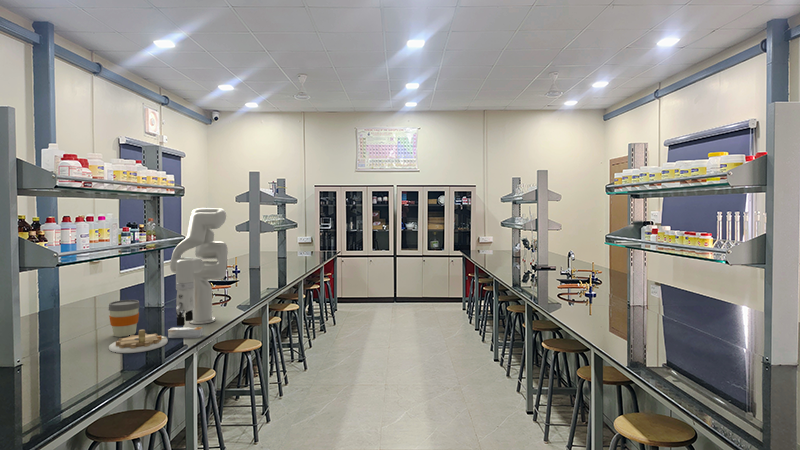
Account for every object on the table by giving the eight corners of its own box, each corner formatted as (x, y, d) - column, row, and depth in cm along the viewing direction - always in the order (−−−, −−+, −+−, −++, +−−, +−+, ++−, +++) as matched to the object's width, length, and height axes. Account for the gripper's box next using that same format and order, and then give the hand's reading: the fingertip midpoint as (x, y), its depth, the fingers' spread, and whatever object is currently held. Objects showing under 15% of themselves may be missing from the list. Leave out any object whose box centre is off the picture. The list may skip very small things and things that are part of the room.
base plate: (125, 338, 206) (125, 334, 206) (175, 337, 207) (175, 334, 207) (97, 353, 184) (97, 350, 184) (153, 352, 186) (153, 349, 186)
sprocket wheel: (112, 341, 197) (112, 326, 196) (156, 334, 208) (156, 320, 207) (119, 351, 183) (119, 335, 183) (165, 343, 195) (165, 328, 194)
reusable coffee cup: (123, 329, 220) (123, 299, 219) (146, 331, 217) (145, 300, 217) (102, 336, 207) (101, 304, 207) (125, 338, 205) (125, 305, 204)
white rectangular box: (171, 336, 210) (171, 327, 210) (202, 335, 211) (202, 327, 211) (168, 338, 206) (168, 329, 206) (199, 338, 207) (199, 329, 207)
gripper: (186, 289, 199) (186, 327, 200) (200, 283, 217) (200, 319, 217) (168, 289, 199) (168, 327, 199) (183, 283, 216) (183, 319, 216)
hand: (185, 323), depth 208 cm, fingers open, 9 cm apart
